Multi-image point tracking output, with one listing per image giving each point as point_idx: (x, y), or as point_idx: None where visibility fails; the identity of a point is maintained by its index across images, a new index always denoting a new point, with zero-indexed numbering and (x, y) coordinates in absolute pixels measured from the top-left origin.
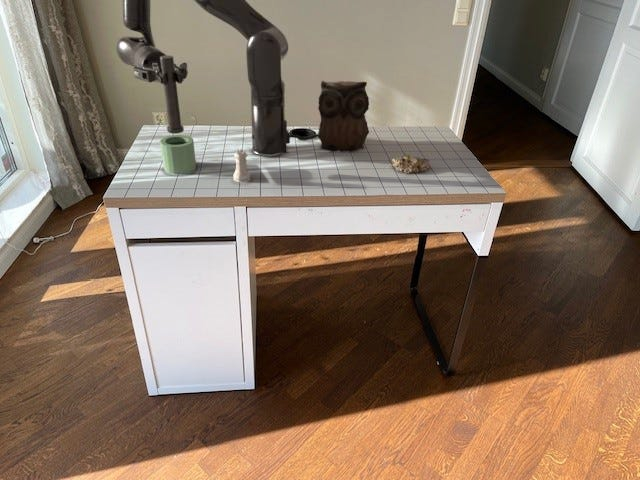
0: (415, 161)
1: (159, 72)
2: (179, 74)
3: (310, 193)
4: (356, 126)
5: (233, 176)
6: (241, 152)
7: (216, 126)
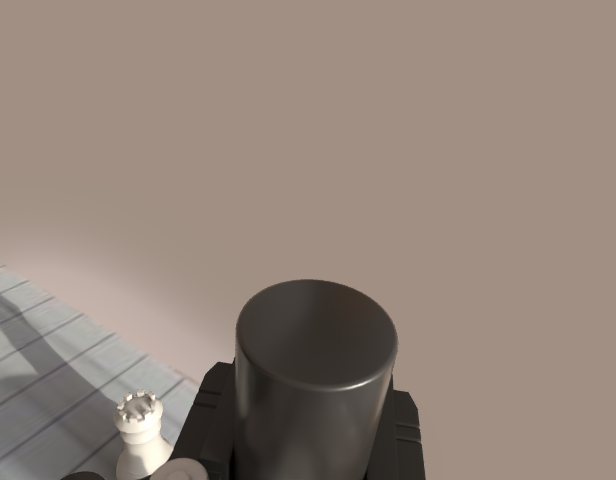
0: None
1: (391, 477)
2: None
3: (93, 332)
4: None
5: None
6: (135, 405)
7: None
